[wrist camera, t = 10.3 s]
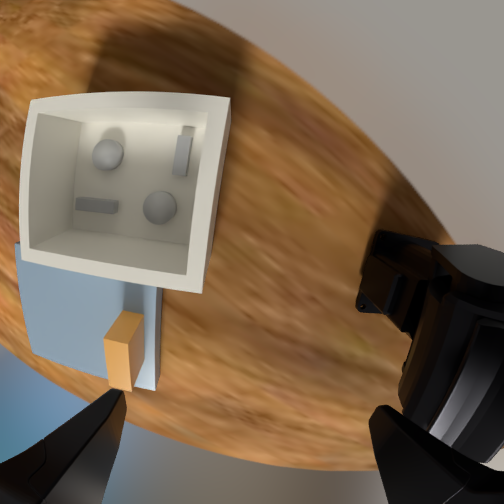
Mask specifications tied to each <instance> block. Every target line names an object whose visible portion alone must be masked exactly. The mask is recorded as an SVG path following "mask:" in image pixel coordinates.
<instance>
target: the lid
mask: <svg viewBox="0 0 504 504" xmlns="http://www.w3.org/2000/svg"><path fill="white" fill-rule="evenodd" d="M15 255H16V266H17V275H18V283H19V290H20V297H21V303H22V309H23V314H24V319H25V324H26V328H27V333H28V337H29V341H30V345H31V348H32V352H33V353H34V354H36V355H39V356H41V357H44V358H46V359H49V360H51V361H54V362H57V363H59V364H62V365H65V366H68V367H70V368H73V369H76V370H79V371H82V372H85V373H89V374H92V375H95V376H98V377H102V378H105V379H109V385H110V386H112V387H115V388H119V389H123V390H127V391H131V392H132V390H133V388H134V386H136V387H140V388H145V389H149V390H154V391H155V390H156V387H157V383H158V380H159V377H160V332H161V309H162V292H163V288H162V287H155V286H149V285H143V284H137V283H132V282H126V281H120V280H115V279H109V278H104V277H99V276H94V275H89V274H83V273H79V272H74V271H69V270H64V269H59V268H55V267H50V266H46V265H41V264H37V263H32V262H28V261H24V260H22V259H21V246H20V241H19V242H17V243H15Z"/></svg>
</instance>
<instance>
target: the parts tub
mask: <svg viewBox="0 0 504 504" xmlns="http://www.w3.org/2000/svg"><path fill="white" fill-rule="evenodd" d="M230 125H231V105H230V98H227V97H219V96H210V95H200V94H188V93H172V92H100V93H85V94H73V95H64V96H55V97H48V98H41V99H35V100H31V103H30V108H29V112H28V118H27V123H26V129H25V136H24V143H23V151H22V161H21V173H20V192H19V227H20V246H21V259H22V260H24V261H28V262H32V263H37V264H41V265H46V266H50V267H55V268H59V269H64V270H69V271H74V272H79V273H83V274H89V275H94V276H99V277H104V278H109V279H115V280H120V281H126V282H132V283H137V284H143V285H149V286H155V287H162V288H168V289H174V290H181V291H188V292H194V293H201V294H202V290H203V286H204V282H205V277H206V273H207V269H208V265H209V261H210V257H211V251H212V243H213V235H214V228H215V220H216V213H217V206H218V199H219V193H220V186H221V180H222V173H223V167H224V161H225V154H226V148H227V142H228V137H229V131H230Z"/></svg>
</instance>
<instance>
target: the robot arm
mask: <svg viewBox="0 0 504 504" xmlns="http://www.w3.org/2000/svg"><path fill="white" fill-rule="evenodd" d="M382 234H383V238H382V239H380V236H381V235H382ZM359 288H360V292H359V295H358V298H357V302H356V309H357V310H358V311H359V312H363V313H380V314H383V315H386V316H387V317H388V318H389V319H390V320H391V321H392V322H393V323H394V324H395V326H396V327H397V328H398V329H399V330H400V331H401V332H405V333H406V334H407V335H408V336H409V337H410V338H411V339H412V343H411V346H410V350H409V353H408V356H407V359H406V361H405V362H404V363H403V366H402V373H403V374H402V377H401V380H400V382H399V388H398V396H399V399H400V402H401V404H402V407H403V410H402V413H403V415H402V414H401V413H399V412H398V411H396V410H395V409H393V408H392V407H391V406H389V405H380V406H378V407H377V408H376V409H375V411H374V413H373V414H372V416H371V417H370V419H369V429H370V434H371V439H372V445H373V450H374V455H375V459H376V462H377V465H378V469H379V472H380V476H381V479H382V482H383V486H384V489H385V492H386V497H387V500H388V504H504V471H497V470H494V469H491V468H489V467H487V466H485V465H483V464H480V463H488V462H489V461H490V460H491V459H492V458H493V457H494V456H495V455H496V454H497V452H498V451H499V450H500V449H501V448H502V447H503V445H504V253H503V252H500V251H497V250H494V249H491V248H488V247H485V246H482V245H478V244H477V245H476V244H474V245H439V244H438V243H437V242H435V241H431V240H427V239H423V238H418V237H414V236H410V235H405V234H401V233H396V232H392V231H387V230H382V229H381V230H378V231H377V232H376V234H375V237H374V241H373V245H372V249H371V253H370V256H369V257H368V259H367V263H366V266H365V270H364V273H363V277H362V280H361V284H360V287H359ZM362 304H364V305H363V306H362V307H360V306H361V305H362ZM126 411H127V406H126V400H125V395H124V392H123V391H122V390H118V389H114V388H112V389H110V390H109V391H107V392H106V393H105V394H103V395H102V396H101V397H99V398H98V399H97V400H95V401H94V402H93V403H91V404H90V405H89V406H87V407H86V408H84V409H83V410H82V411H81V412H79V413H78V414H76V415H75V416H74V417H72V418H71V419H70V420H68V421H67V422H65V423H64V424H63V425H61V426H60V427H58V428H57V429H56V430H54V431H53V432H52V433H50V434H49V435H47V436H46V437H45V438H44V440H43V439H42V440H40V441H39V442H37V443H36V444H35V445H33V446H32V447H30V448H28V449H27V450H25V451H24V452H22V453H20V454H18V455H16V456H14V457H13V458H10V459H8V460H6V461H4V462H2V463H0V504H101V502H102V499H103V496H104V493H105V489H106V486H107V482H108V480H109V477H110V473H111V470H112V467H113V464H114V461H115V458H116V455H117V452H118V449H119V445H120V440H121V434H122V429H123V425H124V420H125V416H126ZM478 462H479V463H478Z"/></svg>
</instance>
